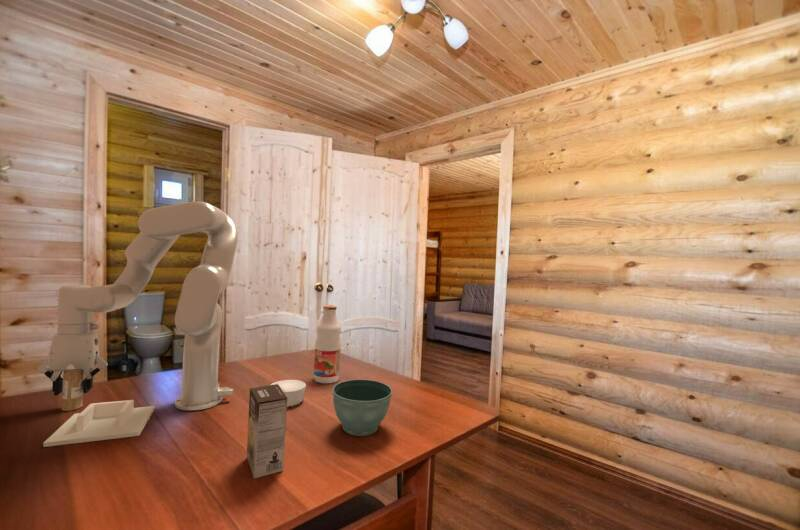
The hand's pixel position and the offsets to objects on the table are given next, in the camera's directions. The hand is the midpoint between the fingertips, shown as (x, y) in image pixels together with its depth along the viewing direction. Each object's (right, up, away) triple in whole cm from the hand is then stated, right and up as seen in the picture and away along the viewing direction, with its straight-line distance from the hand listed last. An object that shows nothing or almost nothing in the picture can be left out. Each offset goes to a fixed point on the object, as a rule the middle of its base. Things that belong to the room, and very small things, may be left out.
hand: (72, 392), depth 101 cm
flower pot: (+81, -9, -3) cm, 82 cm away
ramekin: (+56, -8, +12) cm, 58 cm away
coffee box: (+62, -8, -22) cm, 67 cm away
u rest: (+17, -6, -9) cm, 20 cm away
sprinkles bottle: (0, -5, 0) cm, 5 cm away
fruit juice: (+64, -8, +34) cm, 73 cm away
